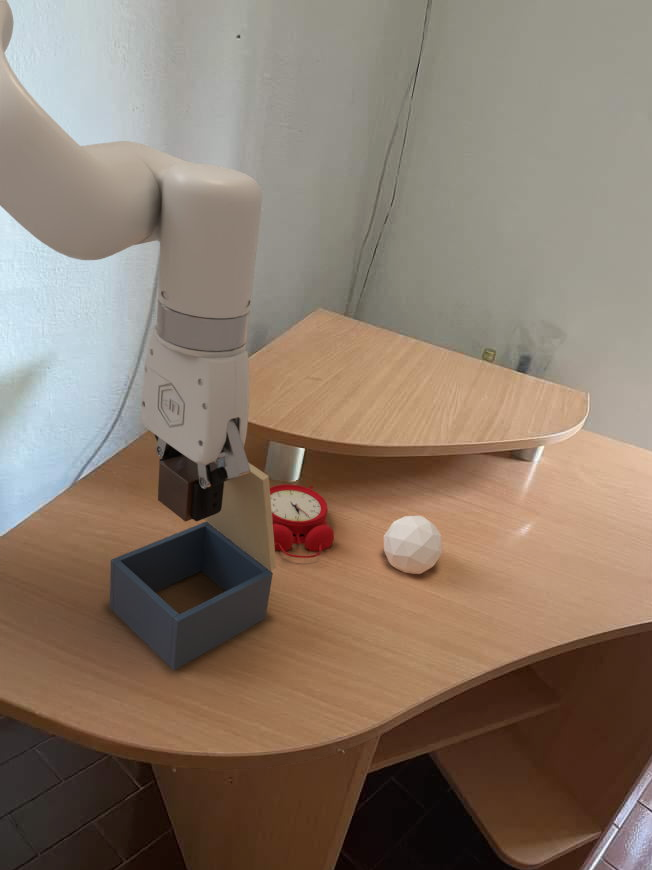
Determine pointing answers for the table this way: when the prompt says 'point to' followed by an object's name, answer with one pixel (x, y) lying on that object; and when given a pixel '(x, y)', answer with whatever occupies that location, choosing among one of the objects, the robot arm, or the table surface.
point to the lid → (248, 515)
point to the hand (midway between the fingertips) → (189, 501)
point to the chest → (176, 561)
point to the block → (178, 484)
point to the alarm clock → (299, 519)
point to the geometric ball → (412, 544)
